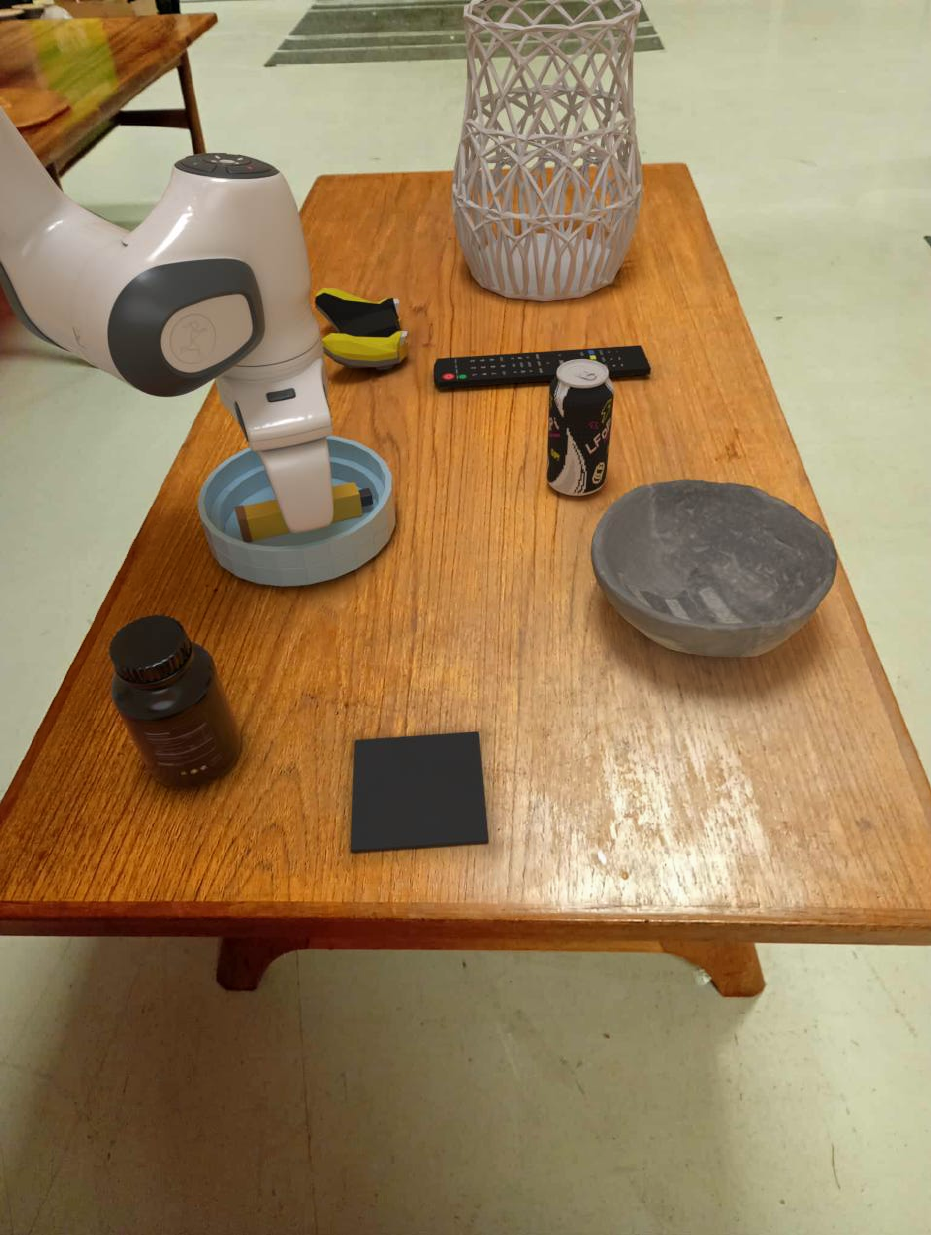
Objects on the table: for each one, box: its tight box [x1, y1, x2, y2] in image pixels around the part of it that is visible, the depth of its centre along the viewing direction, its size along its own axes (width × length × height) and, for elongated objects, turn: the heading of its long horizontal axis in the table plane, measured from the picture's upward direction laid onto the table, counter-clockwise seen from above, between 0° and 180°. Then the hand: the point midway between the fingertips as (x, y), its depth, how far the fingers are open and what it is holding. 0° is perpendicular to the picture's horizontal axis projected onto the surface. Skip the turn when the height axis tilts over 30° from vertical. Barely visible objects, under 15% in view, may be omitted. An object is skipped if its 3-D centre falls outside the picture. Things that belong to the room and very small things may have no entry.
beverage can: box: [545, 359, 615, 497], centre depth 81 cm, size 6×6×12 cm
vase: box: [451, 0, 643, 302], centre depth 110 cm, size 24×24×30 cm
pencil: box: [235, 482, 373, 543], centre depth 81 cm, size 12×2×3 cm, turn 108°
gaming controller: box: [314, 287, 410, 371], centre depth 104 cm, size 15×6×10 cm
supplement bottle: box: [108, 614, 242, 790], centre depth 60 cm, size 7×7×12 cm
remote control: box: [432, 344, 652, 389], centre depth 100 cm, size 5×24×1 cm, turn 94°
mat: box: [350, 730, 489, 854], centre depth 61 cm, size 9×9×1 cm
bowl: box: [590, 478, 838, 658], centre depth 69 cm, size 18×18×8 cm
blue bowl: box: [196, 435, 397, 587], centre depth 81 cm, size 17×17×4 cm
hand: (299, 509), depth 81 cm, fingers closed on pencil, 2 cm apart
